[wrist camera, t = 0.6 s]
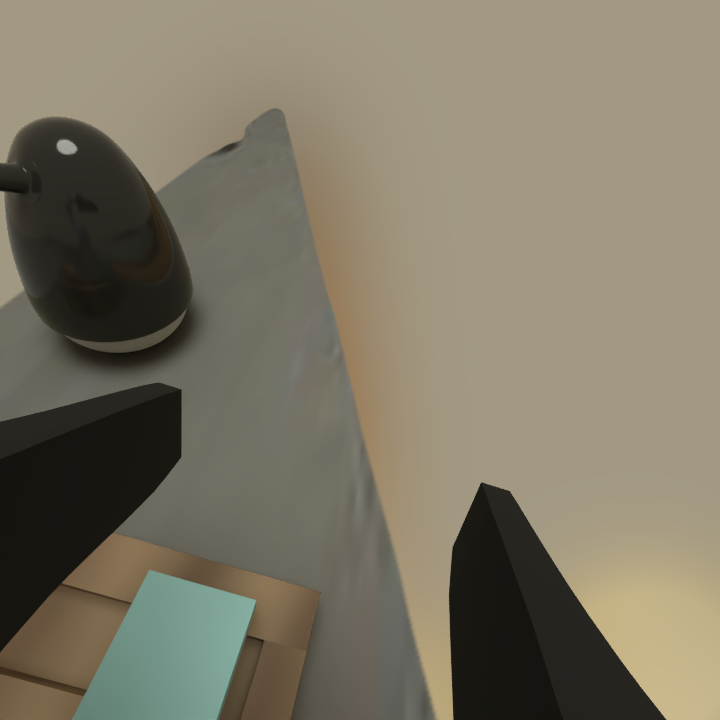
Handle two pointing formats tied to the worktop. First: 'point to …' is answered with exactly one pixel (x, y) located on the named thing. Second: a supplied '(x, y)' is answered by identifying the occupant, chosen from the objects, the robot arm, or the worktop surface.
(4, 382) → the worktop surface
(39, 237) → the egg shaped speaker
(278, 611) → the slotted wooden block
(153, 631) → the block
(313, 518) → the worktop surface
